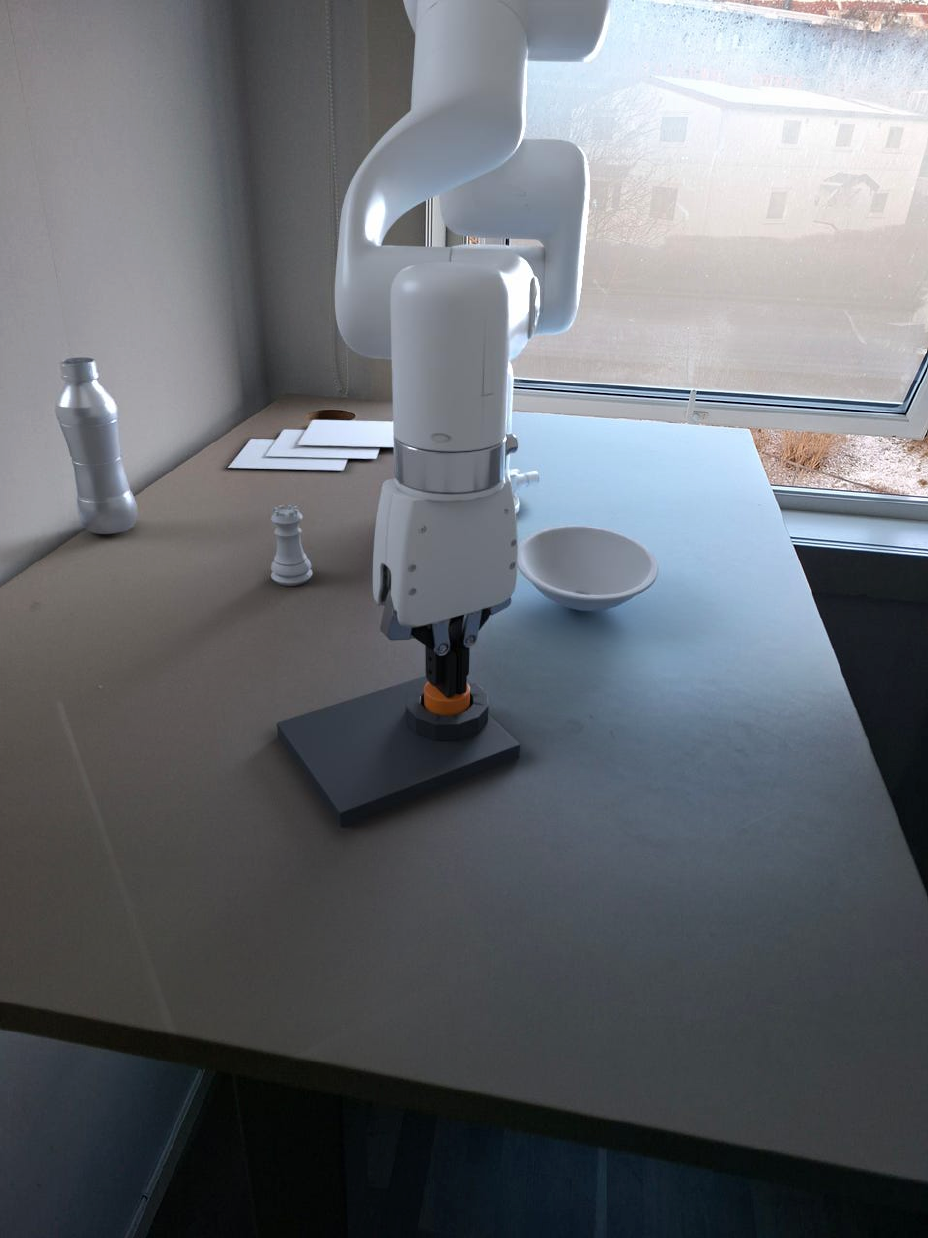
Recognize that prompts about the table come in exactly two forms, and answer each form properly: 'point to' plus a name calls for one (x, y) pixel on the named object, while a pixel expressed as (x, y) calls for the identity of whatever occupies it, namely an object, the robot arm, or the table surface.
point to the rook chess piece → (289, 549)
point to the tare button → (445, 701)
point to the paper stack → (318, 446)
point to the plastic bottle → (94, 449)
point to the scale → (392, 748)
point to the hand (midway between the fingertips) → (447, 686)
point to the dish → (586, 566)
